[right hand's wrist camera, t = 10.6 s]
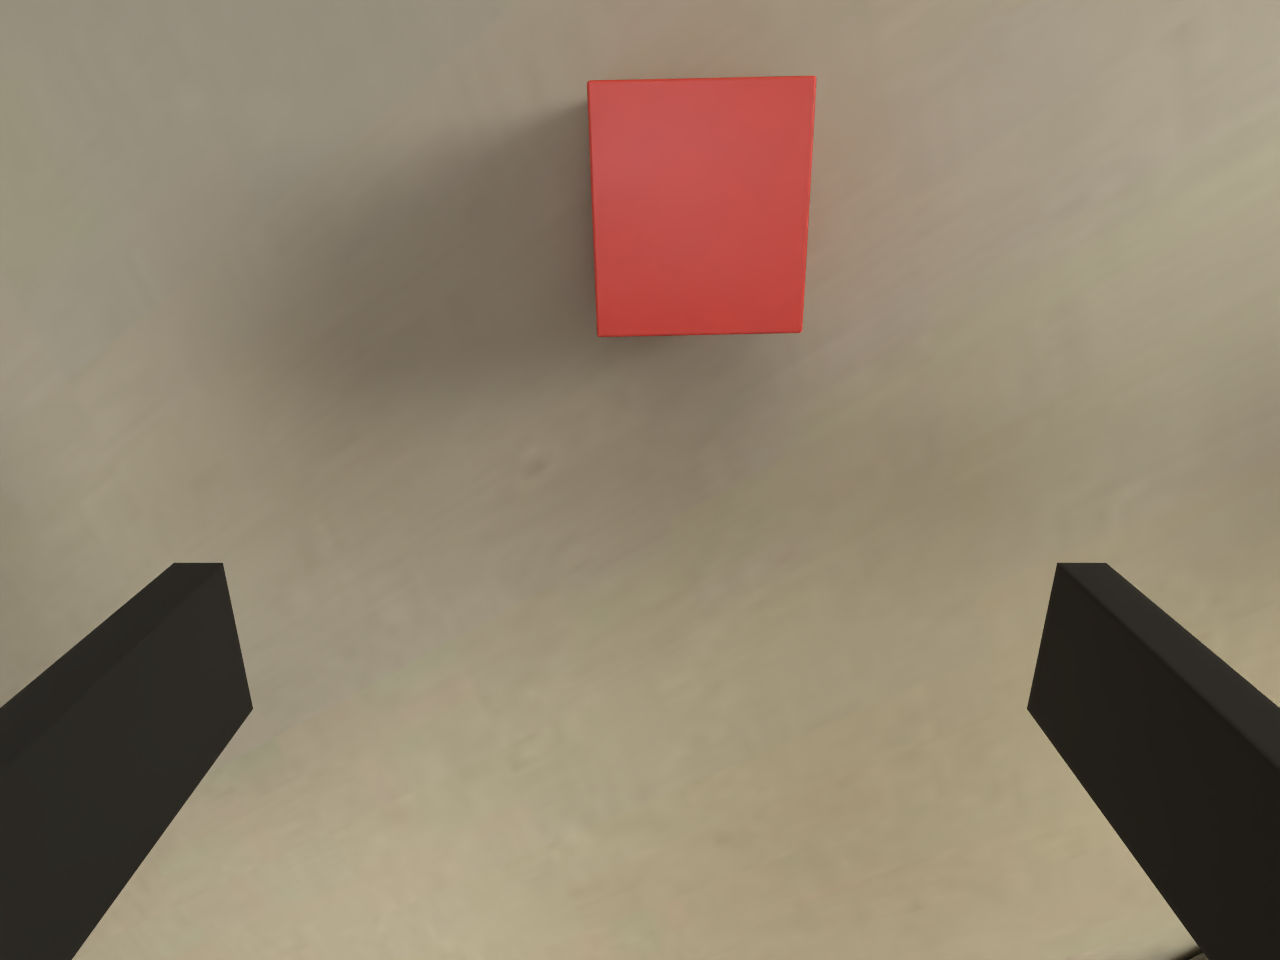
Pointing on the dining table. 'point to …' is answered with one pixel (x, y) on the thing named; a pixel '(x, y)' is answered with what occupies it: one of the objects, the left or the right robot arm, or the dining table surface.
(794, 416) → the dining table surface
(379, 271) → the dining table surface
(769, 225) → the brick
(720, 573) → the dining table surface
